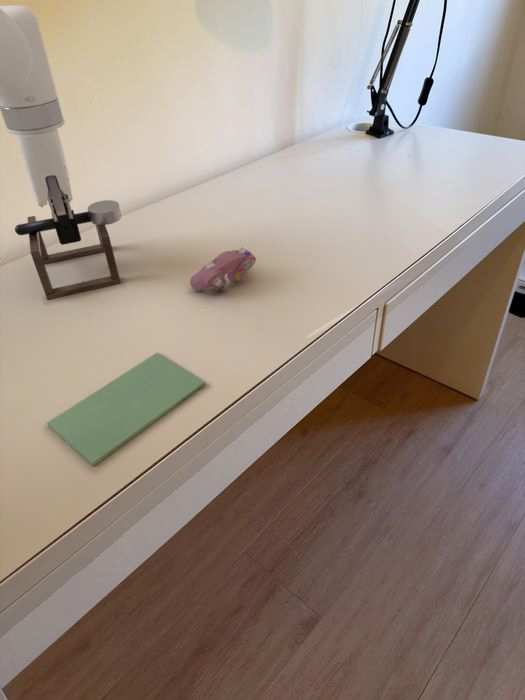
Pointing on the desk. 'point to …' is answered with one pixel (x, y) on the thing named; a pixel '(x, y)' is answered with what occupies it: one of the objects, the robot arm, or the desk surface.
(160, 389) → the mat
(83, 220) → the grey saucepan
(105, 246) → the rack
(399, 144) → the desk surface
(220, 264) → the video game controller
